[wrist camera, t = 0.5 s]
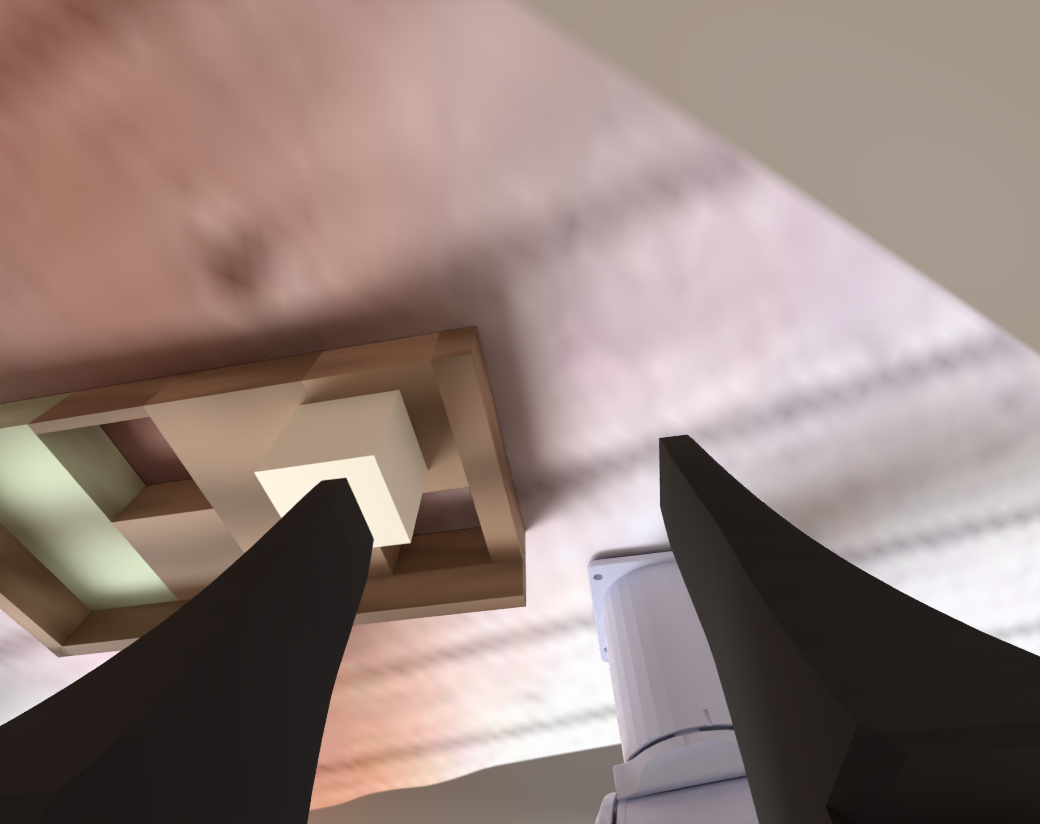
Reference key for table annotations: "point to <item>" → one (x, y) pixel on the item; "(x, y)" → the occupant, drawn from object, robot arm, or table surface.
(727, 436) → the table surface
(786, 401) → the table surface
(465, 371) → the board
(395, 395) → the cream block
